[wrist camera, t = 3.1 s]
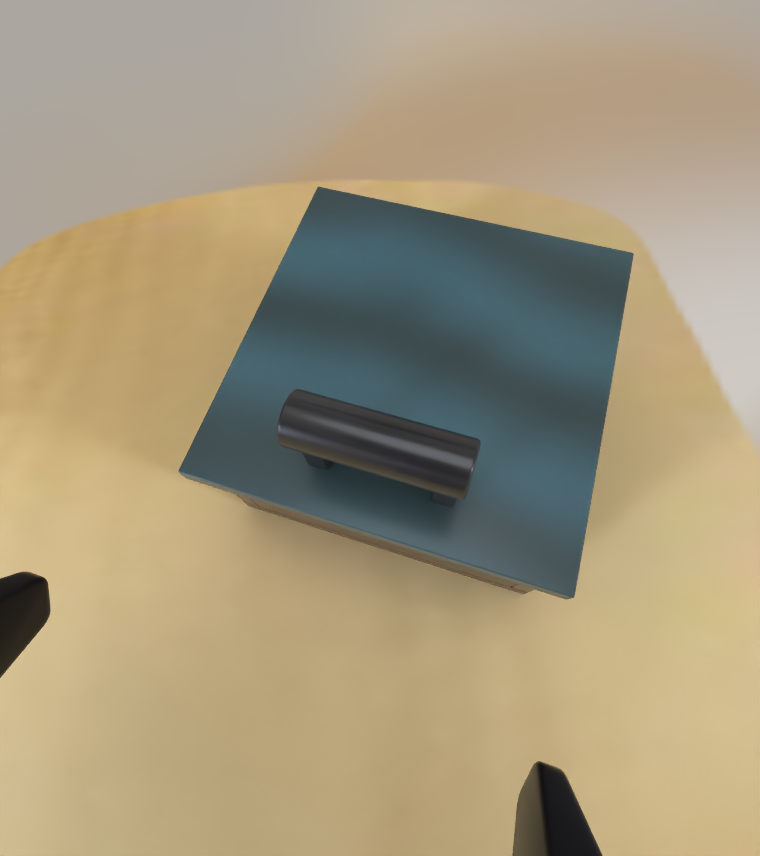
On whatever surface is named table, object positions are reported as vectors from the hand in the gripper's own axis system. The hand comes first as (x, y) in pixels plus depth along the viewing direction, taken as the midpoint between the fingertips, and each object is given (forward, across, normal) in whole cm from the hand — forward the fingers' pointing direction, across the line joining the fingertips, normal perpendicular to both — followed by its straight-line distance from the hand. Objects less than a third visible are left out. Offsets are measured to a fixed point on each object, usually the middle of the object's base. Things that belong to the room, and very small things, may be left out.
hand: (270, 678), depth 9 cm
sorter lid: (+11, 0, -3) cm, 12 cm away
